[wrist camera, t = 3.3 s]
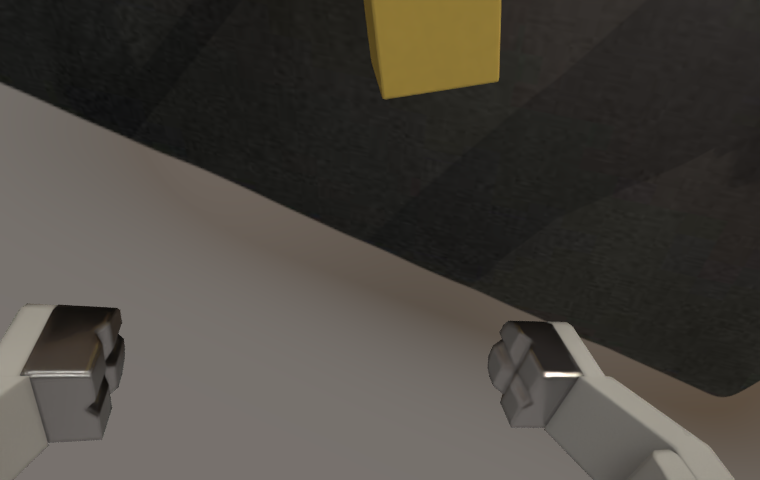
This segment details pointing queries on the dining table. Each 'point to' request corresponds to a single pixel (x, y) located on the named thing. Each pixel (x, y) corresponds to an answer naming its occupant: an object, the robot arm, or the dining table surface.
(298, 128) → the dining table surface
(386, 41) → the yellow bar
